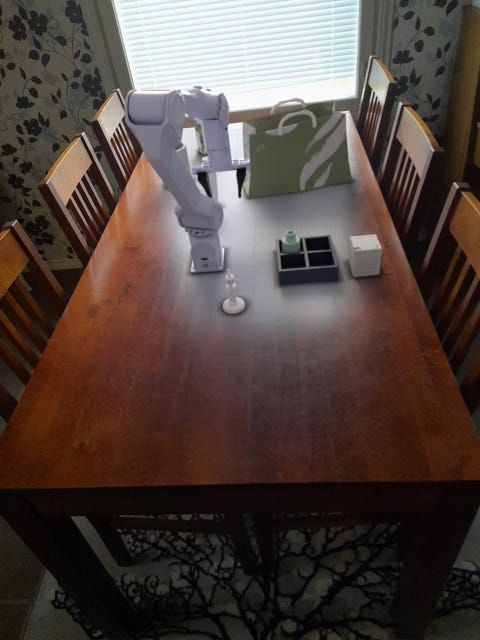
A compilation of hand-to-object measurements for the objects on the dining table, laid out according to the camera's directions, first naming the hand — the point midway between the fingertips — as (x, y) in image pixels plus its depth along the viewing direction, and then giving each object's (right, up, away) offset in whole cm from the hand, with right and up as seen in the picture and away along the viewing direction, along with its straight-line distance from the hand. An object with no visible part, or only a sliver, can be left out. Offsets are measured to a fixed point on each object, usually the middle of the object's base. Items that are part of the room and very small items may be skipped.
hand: (225, 197), depth 119 cm
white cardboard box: (+33, -20, -13) cm, 41 cm away
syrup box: (-8, +31, +49) cm, 59 cm away
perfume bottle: (-4, +1, +16) cm, 17 cm away
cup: (-16, +13, +32) cm, 38 cm away
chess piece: (+3, -29, -18) cm, 34 cm away
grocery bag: (+21, +11, +23) cm, 33 cm away
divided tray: (+20, -19, -10) cm, 29 cm away
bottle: (+16, -17, -8) cm, 25 cm away
